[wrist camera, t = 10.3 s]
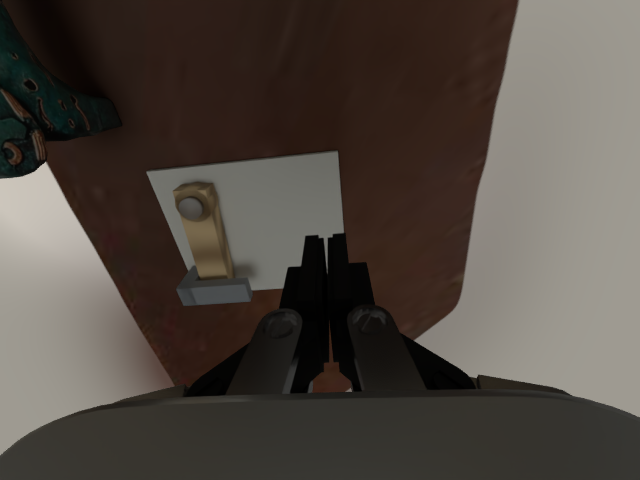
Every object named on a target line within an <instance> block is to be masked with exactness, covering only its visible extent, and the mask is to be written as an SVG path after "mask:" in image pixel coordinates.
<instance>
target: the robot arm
mask: <svg viewBox="0 0 640 480" xmlns="http://www.w3.org/2000/svg"><path fill="white" fill-rule="evenodd" d="M329 321H330V331H331V340H332V350H333V360H334V362H339V369H340V372H341V373H342V374H343V375H344V376H345V377H347V378H348V379H349V380H350V381H351V389H352V392H329V393H312V389H313V379H314V378H315V377H316V376H318V375H319V374H320V373H321V372H324V363H327V362H329ZM0 480H640V417H637V416H635V415H632V414H630V413H628V412H625V411H623V410H620V409H617V408H615V407H612V406H608V405H605V404H601V403H598V402H595V401H591V400H588V399H584V398H580V397H575V396H572V395H570V394H568V393H566V392H565V391H563V390H559V389H557V388H553V387H548V386H543V385H536V384H531V383H525V382H519V381H513V380H507V379H501V378H496V377H490V376H484V375H478V377H477V378H473V377H469V376H468V375H467V374H466V373H465V372H463V371H462V370H461V369H459V368H458V367H456V366H454V365H453V364H451V363H449V362H448V361H446V360H444V359H443V358H441V357H439V356H438V355H436V354H434V353H433V352H431V351H429V350H428V349H426V348H424V347H423V346H421V345H420V344H418V343H416V342H415V341H413V340H411V339H410V338H408V337H406V336H405V335H403V334H401V333H400V332H399V330H398V328H397V326H396V323H395V321H394V319H393V317H392V316H391V314H390V313H389V312H388V311H387V310H386V309H384V308H382V307H380V306H378V305H375V302H374V297H373V292H372V287H371V282H370V277H369V273H368V268H367V263H366V262H362V263H349V262H348V253H347V244H346V234H345V233H337V234H333V237H328V261H327V266H326V256H325V245H324V238H319V235H307V236H305V242H304V249H303V256H302V263H301V266H294V267H288V269H287V273H286V278H285V283H284V287H283V292H282V297H281V302H280V306H279V309H277V310H274V311H271V312H270V313H268V314H266V315H265V316H264V317H263V318H262V319H261V321H260V322H259V324H258V326H257V328H256V330H255V332H254V334H253V337H252V339H251V341H250V343H248V344H247V345H245V346H244V347H243V348H241V349H240V350H238V351H237V352H235V353H234V354H233V355H231V356H230V357H228V358H227V359H226V360H224V361H223V362H221V363H220V364H218V365H217V366H216V367H214V368H213V369H211V370H210V371H208V372H207V373H206V374H204V375H203V376H201V377H200V378H199V379H198V380H197V381H195V382H194V383H193V385H192V386H190V387H187V386H186V384H182V385H178V386H174V387H170V388H166V389H162V390H158V391H154V392H150V393H147V394H142V395H139V396H134V397H130V398H126V399H123V400H120V401H117V402H115V403H112V404H107V405H101V406H97V407H93V408H90V409H86V410H82V411H79V412H76V413H74V414H71V415H68V416H65V417H63V418H60V419H57V420H55V421H52V422H50V423H48V424H46V425H44V426H42V427H40V428H38V429H36V430H34V431H32V432H30V433H29V434H27V435H26V436H24V437H23V438H21V439H20V440H18V441H17V442H16V443H14V445H12V446H11V447H10V448H8V449H7V450H6V451H5V452H4V453H3V454H1V455H0Z"/></svg>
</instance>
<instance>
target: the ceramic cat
mask: <svg viewBox="0 0 640 480" xmlns="http://www.w3.org/2000/svg"><path fill="white" fill-rule="evenodd" d="M119 126H122V124H121V121H120V119H119V116H118V114H117V112H116V109H115V107H114V105H113V103H112V102H111V101H110V100H109V99H107V98H101V97H92V96H89V95H86V94H83V93H81V92H79V91H77V90H75V89H74V88H72V87H70V86H69V85H67V84H66V83H64V82H63V81H61V80H59V79H58V78H57V77H55V76H54V75H52V74H51V73H50V72H49V71H48V70H47V69H46V68H45V67H44V66H43V65H42V64H41V62H40V61H39V60H38V59H37V57H36V56H35V54H34V53H33V51H32V50H31V49H30V47H29V46H28V45H27V43H26V42H25V40H24V39H23V38H22V36H21V35H20V33H19V32H18V30H17V29H16V27H15V25H14V23H13V21H12V19H11V17H10V15H9V13H8V11H7V10H6V8H5V6H4V4H3V2H2V0H0V179H1V178H13V177H21V176H24V175H27V174H30V173H32V172H34V171H35V170H37V168H39V167H40V166H41V165H42V164H44V163H45V162H46V160H47V154H48V152H47V146H46V141H67V140H71V139H74V138H78V137H85V136H92V135H96V134H98V133H100V132H102V131H105V130H108V129H112V128H116V127H119Z"/></svg>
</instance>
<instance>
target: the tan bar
mask: <svg viewBox="0 0 640 480" xmlns="http://www.w3.org/2000/svg"><path fill="white" fill-rule="evenodd" d="M172 192H173V195H174V198H175V206H176V209H177V211H178V212H179V214H180V217H181V220H182V223H183V227H184V230H185V233H186V236H187V239H188V242H189V246H190V249H191V252H192V255H193V258H194V261H195V265H196V268H197V271H198V274H199V277H200V280H201V281H202V280H216V279H230V278H235V274H234V270H233V266H232V262H231V257H230V253H229V249H228V245H227V240H226V236H225V232H224V228H223V223H222V219H221V215H220V211H219V206H218V196H217V194H216V192H215V189H214V185H213V183H201V182H194V183H191V184H181V185H180V186H178V187H177V188H176V189H174V190H173V191H172Z"/></svg>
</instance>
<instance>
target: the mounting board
mask: <svg viewBox="0 0 640 480" xmlns="http://www.w3.org/2000/svg"><path fill="white" fill-rule="evenodd" d="M147 175H148V177H149V180H150V182H151V184H152V187H153V189H154V191H155V194H156V196H157V198H158V201H159V203H160V205H161V208H162V210H163V212H164V215H165V217H166V219H167V222H168V224H169V227H170V229H171V231H172V234H173V236H174V238H175V241H176V243H177V245H178V248H179V250H180V252H181V255H182V257H183V259H184V262H185V264H186V266H187V269H188V271H189V272H188V273H187V274H186V276H185V277H184V279H183V280H182V281H181V283H180V284H179V286H178V287H177V288H176V290H177V292H178V295H179V297H180V299H181V301H182V303H183V305H184V306H188V305H203V304H218V303H233V302H249V301H251V298H252V295H253V293H252V290H263V289H278V288H283V287H284V283H285V278H286V273H287V269H288V267H294V266H301V263H302V256H303V249H304V242H305V236H307V235H319V238H324V245H325V256H326V266H327V261H328V237H333V234H337V233H344V227H343V214H342V201H341V188H340V174H339V161H338V150H335V151H326V152H316V153H307V154H297V155H288V156H278V157H269V158H259V159H250V160H241V161H231V162H222V163H212V164H203V165H193V166H184V167H174V168H165V169H155V170H149V171H147ZM194 182H201V183H213V185H214V189H215V192H216V194H217V196H218V206H219V211H220V215H221V219H222V223H223V228H224V232H225V236H226V240H227V245H228V249H229V253H230V257H231V262H232V266H233V270H234V274H235V278H230V279H216V280H202V281H201V280H200V277H199V274H198V271H197V268H196V265H195V261H194V258H193V255H192V252H191V249H190V246H189V242H188V239H187V236H186V233H185V230H184V227H183V223H182V220H181V217H180V214H179V212H178V211H177V209H176V206H175V198H174V195H173V192H172V191H173V190H174V189H176V188H177V187H178V186H180V185H181V184H191V183H194Z"/></svg>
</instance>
